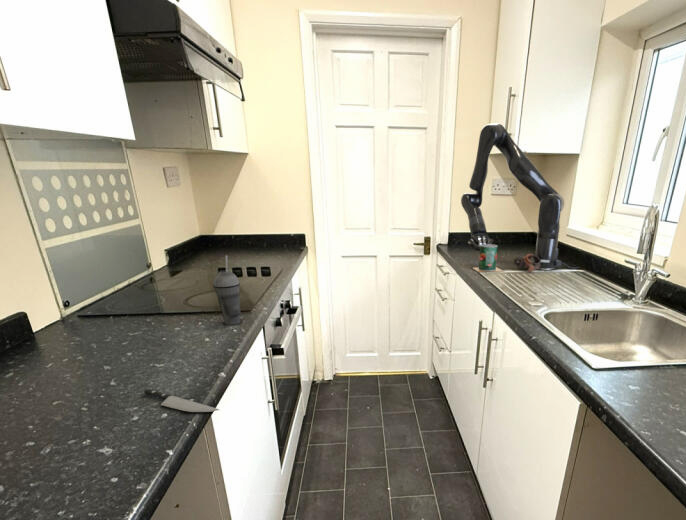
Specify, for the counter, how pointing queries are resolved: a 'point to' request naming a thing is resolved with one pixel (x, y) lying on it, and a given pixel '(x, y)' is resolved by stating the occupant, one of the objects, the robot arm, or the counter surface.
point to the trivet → (486, 271)
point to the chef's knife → (180, 402)
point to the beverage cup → (228, 295)
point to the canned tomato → (488, 257)
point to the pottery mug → (527, 262)
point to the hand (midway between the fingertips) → (484, 256)
